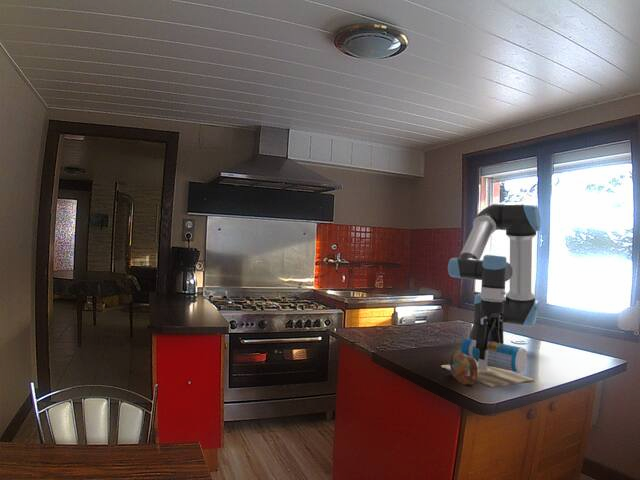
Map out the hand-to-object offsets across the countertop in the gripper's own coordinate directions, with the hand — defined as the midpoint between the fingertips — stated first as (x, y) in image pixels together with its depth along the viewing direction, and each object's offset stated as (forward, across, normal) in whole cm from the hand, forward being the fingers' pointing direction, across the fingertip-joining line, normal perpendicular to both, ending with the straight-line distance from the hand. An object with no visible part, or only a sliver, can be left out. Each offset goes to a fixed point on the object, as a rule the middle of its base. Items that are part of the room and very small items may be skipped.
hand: (488, 366), depth 144 cm
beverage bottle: (-5, 0, -11) cm, 12 cm away
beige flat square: (+3, 0, +1) cm, 3 cm away
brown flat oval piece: (+3, -14, +2) cm, 14 cm away
